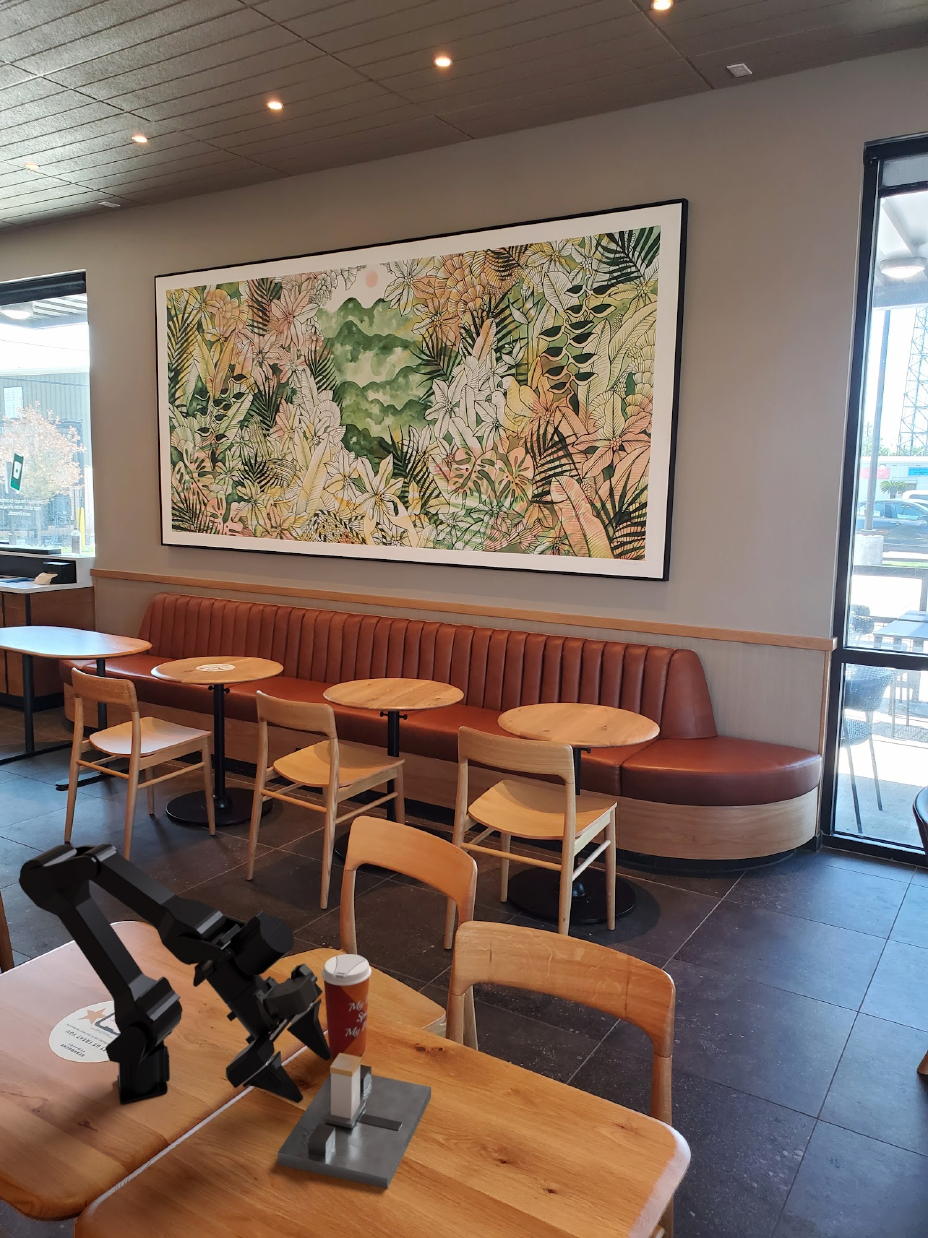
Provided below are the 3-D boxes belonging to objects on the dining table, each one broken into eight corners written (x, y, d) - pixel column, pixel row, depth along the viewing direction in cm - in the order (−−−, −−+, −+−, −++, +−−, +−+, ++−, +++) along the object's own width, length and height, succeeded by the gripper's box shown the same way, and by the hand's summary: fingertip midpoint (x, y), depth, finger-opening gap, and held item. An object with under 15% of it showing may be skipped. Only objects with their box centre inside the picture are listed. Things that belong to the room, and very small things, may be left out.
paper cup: (363, 1067, 133) (362, 979, 131) (315, 1061, 134) (313, 974, 133) (378, 1037, 141) (377, 954, 139) (332, 1032, 142) (331, 949, 141)
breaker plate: (277, 1166, 113) (277, 1138, 113) (334, 1079, 130) (334, 1054, 130) (387, 1193, 109) (387, 1164, 109) (430, 1100, 126) (431, 1074, 126)
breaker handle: (324, 1122, 118) (324, 1070, 117) (339, 1098, 123) (339, 1048, 122) (351, 1128, 117) (352, 1076, 116) (365, 1104, 122) (366, 1054, 121)
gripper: (247, 995, 111) (326, 1093, 109) (310, 927, 129) (379, 1011, 127) (192, 1040, 114) (268, 1137, 113) (261, 968, 132) (328, 1050, 130)
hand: (315, 1079), depth 121 cm, fingers open, 9 cm apart
